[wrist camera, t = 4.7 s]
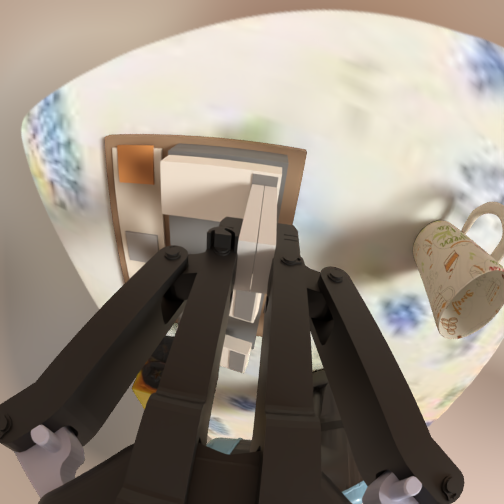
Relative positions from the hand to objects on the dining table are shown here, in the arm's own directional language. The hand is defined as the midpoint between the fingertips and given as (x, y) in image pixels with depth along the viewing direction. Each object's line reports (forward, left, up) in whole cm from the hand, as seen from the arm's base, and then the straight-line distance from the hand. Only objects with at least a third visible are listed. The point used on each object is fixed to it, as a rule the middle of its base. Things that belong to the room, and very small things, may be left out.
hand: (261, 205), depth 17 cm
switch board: (-9, +6, -7) cm, 13 cm away
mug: (-2, -20, -7) cm, 21 cm away
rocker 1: (0, +3, -3) cm, 4 cm away
